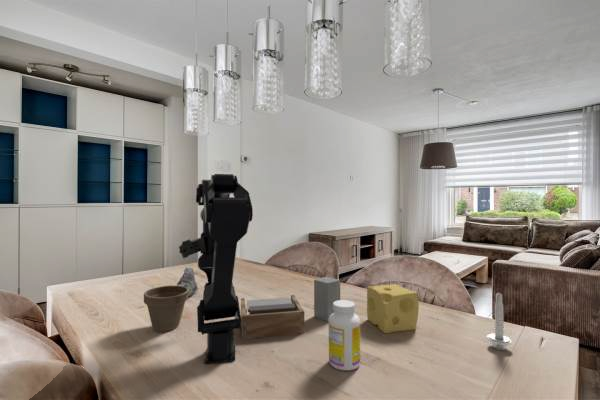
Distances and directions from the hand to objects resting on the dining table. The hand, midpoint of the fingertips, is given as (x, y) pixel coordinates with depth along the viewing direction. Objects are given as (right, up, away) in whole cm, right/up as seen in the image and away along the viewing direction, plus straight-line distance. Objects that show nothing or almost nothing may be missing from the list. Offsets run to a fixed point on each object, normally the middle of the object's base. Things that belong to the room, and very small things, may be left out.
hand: (214, 287), depth 81 cm
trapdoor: (+14, -9, +6) cm, 18 cm away
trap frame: (+14, -12, +6) cm, 19 cm away
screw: (+69, -12, -8) cm, 71 cm away
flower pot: (-14, -12, +4) cm, 19 cm away
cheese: (+48, -12, +6) cm, 50 cm away
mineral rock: (-20, -12, +33) cm, 40 cm away
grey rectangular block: (+30, -12, +12) cm, 35 cm away
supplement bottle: (+32, -12, -15) cm, 37 cm away
